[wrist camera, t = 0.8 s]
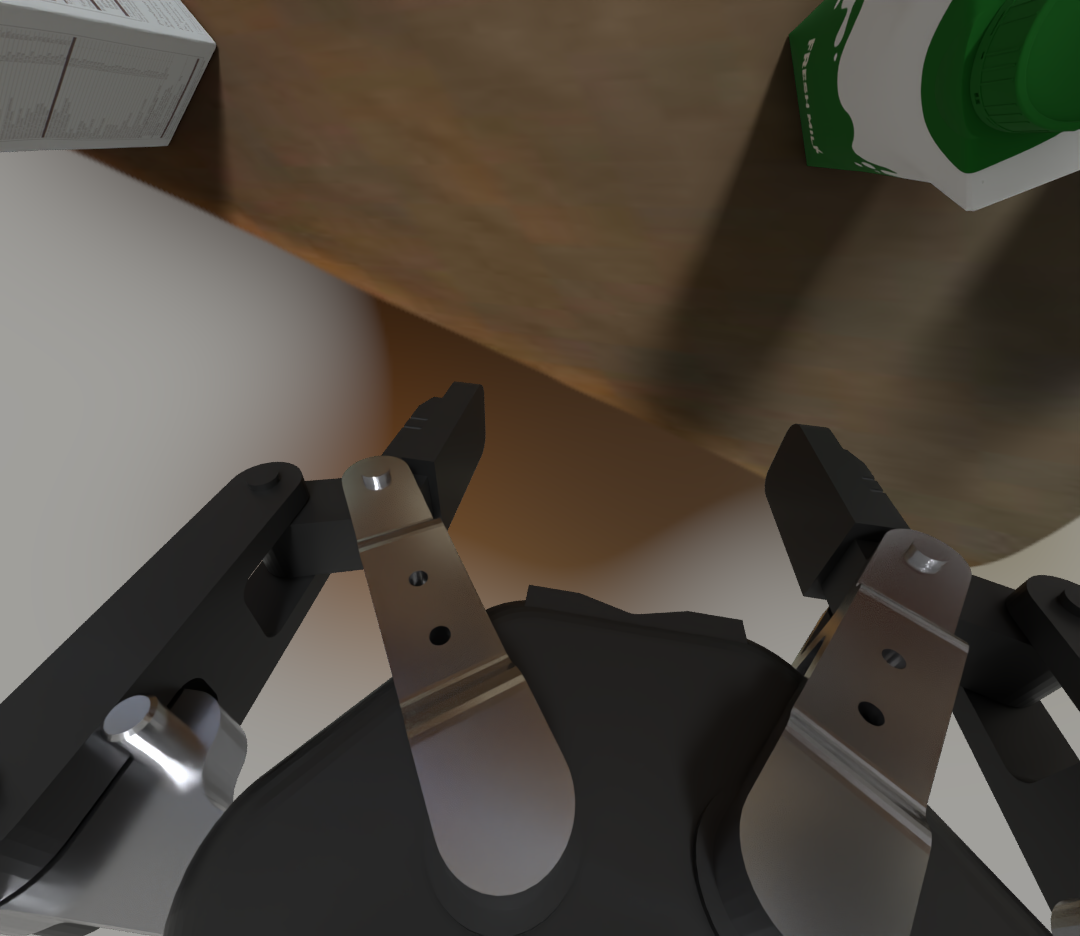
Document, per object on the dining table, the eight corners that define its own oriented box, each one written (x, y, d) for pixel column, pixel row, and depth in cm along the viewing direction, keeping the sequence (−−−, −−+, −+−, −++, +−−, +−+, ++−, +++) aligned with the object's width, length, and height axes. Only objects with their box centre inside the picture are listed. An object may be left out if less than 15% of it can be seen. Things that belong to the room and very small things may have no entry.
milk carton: (767, 25, 25) (1008, -159, 9) (968, -99, 21) (1919, -747, 6) (793, 188, 29) (987, 254, 13) (963, 107, 26) (1497, 67, 10)
